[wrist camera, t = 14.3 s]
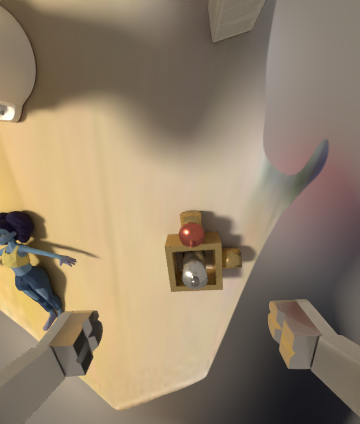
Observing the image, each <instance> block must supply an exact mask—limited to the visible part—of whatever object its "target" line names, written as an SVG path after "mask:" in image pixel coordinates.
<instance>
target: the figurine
mask: <svg viewBox="0 0 360 424" xmlns="http://www.w3.org/2000/svg"><path fill="white" fill-rule="evenodd" d="M33 230H34V225H33V223H32V221H31V219H30V217H29V216H28V215H26V214H25V213H23V212H20V211H13V212H11V213H3V212H2V213H0V245H7V244H8V246H6V247H4V248H3V249H1V250H0V256H2V263H3V264H4V265H6V266H7V267H8V268H11V269H12V270H13V271H14V272H15V274H16V275H15V285H16V287H17V289H18V290H20V291H23V292H24V293H25V294H26V295H28V296H29V297H31V298H32V299H33V300H35V301H36V302H38V303H39V304H40V305H41V306H42V307H43V308H44V309H45V310H46V311H47V312H49V313H50V317H49V319H48V321H47V323H46V324H45V326H44V327H43V330H44V331H47V330H48V329H49V328H50V326H51V325H52V323H53V322H54V320H55V319H56V317H57V314H56V313H55V312H54V311H53V307H54V308H55V309H56V310H57V311H58V313H59V314H58V317H59V316H60V315H61V314H62V313H63V311H62V308H61V307H62V305H61V300H60V298H59V297H58V296H57V295H55V294H53V291H52V288H51V285H50V282H49V278H48V275H47V274H46V272H45V271H44V270H43V269H41V268H39V267H37V266H32V265H31V264H30V258H29V254H28V253H33V254H38V255H44V256H48V257H53V258H58V259H59V260H60V266H61V265H62V263H65V264H67V265H69V266H71V267H72V265H71V264H74V265H75V263H74V262H77V261H75V260H76V259H74V258H71V257H69V256H63V255H58V254H54V253H51V252H47V251H43V250H39V249H35V248H31V247H28V246H26V245H24V244H22V243H26V242H28V240H29V239H30V236H31V233H33ZM16 240H19V241H20V242H21V244H18V243H17V242H16ZM72 261H73V262H72ZM70 263H71V264H70Z"/></svg>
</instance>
